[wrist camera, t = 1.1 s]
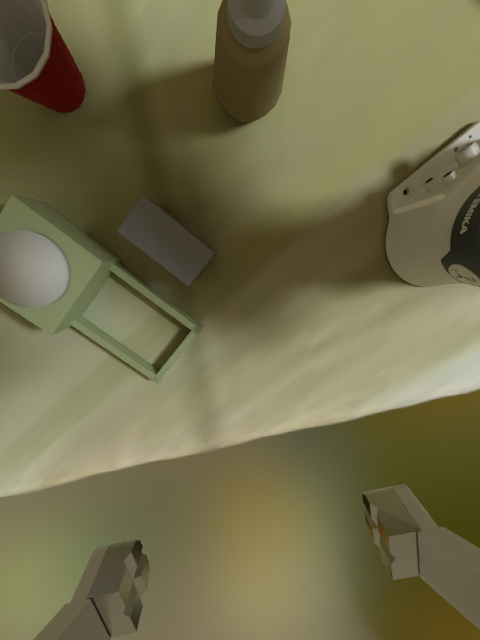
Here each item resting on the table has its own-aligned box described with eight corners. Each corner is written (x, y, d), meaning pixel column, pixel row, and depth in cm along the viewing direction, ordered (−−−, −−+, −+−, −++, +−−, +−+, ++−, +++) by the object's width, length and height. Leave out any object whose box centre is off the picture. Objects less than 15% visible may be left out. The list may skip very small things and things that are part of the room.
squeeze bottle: (280, 129, 37) (326, 20, 19) (219, 136, 37) (209, 34, 19) (274, 55, 35) (320, -141, 17) (210, 63, 35) (190, -126, 17)
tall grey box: (159, 205, 38) (142, 194, 31) (217, 252, 40) (214, 253, 33) (139, 234, 39) (116, 231, 32) (196, 279, 41) (188, 286, 33)
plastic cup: (40, 148, 36) (-50, 100, 25) (1, 50, 33) (-121, -56, 22) (120, 124, 36) (67, 65, 24) (87, 24, 33) (10, -98, 22)
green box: (45, 202, 38) (3, 192, 31) (204, 323, 43) (199, 338, 36) (1, 272, 40) (-47, 277, 33) (158, 380, 45) (145, 404, 38)
